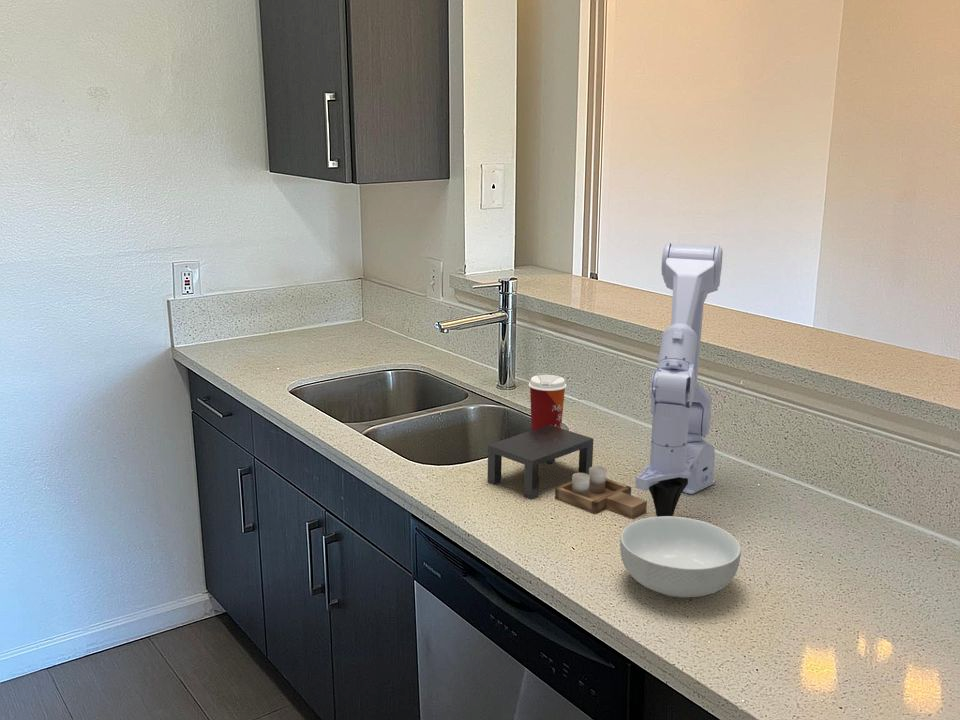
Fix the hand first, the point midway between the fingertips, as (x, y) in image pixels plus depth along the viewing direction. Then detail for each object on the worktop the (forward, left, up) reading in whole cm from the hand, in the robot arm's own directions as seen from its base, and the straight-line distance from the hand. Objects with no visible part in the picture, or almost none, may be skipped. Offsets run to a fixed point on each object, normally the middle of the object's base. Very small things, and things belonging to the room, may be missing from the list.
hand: (664, 518), depth 152 cm
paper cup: (+39, -14, -1) cm, 42 cm away
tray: (+12, 0, -1) cm, 12 cm away
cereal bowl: (-13, +16, -1) cm, 20 cm away
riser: (+28, 0, -1) cm, 28 cm away
